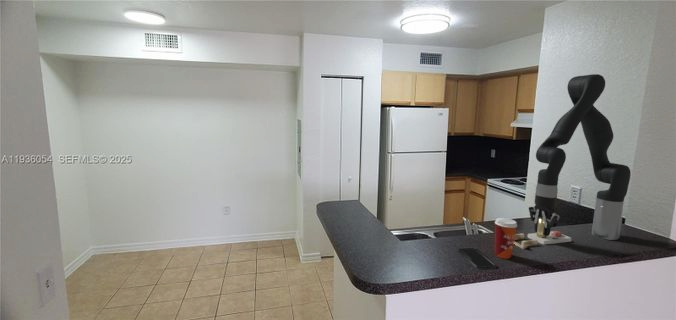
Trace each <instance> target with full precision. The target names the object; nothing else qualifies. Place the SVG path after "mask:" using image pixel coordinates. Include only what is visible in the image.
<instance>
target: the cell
mask: <svg viewBox="0 0 676 320" xmlns="http://www.w3.org/2000/svg"><path fill="white" fill-rule="evenodd" d="M547 220H548V219H547ZM544 227H545V225H544V222H543V218H538V226H537V232H536V233H537V235H536V236H537V237H539V238H547V236H544V235H543V233H544Z"/></svg>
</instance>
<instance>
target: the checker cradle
mask: <svg viewBox="0 0 676 320" xmlns="http://www.w3.org/2000/svg"><path fill="white" fill-rule="evenodd" d="M553 231H554V230H553ZM553 231H552V230H550V235H549V236H547V238H539V237H537V236H536V235H537V232H532V233H527V238H528V239H529V240H535V239H536V240H538V244H542V245H552V244H553V245H554V244H561V243H568V242H572V237H570V236H567V235H565V234H563V233H562V236H561V237H556V236H554V235H553Z"/></svg>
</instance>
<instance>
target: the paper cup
mask: <svg viewBox="0 0 676 320" xmlns="http://www.w3.org/2000/svg"><path fill="white" fill-rule="evenodd" d="M494 224H495V228H494V229H495V230H494V231H495V232H494V235H495V236H494V255H495V256H496V257H497V258H500V259H505V260H506V259H507V260H509V259H511V258H512V255H513V249H514V239H515V234H517V233H516V232H517V227H518V224H517V221H516V220H514V219H511V218H507V217H497V218H496V219H495V221H494Z"/></svg>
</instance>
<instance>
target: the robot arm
mask: <svg viewBox="0 0 676 320" xmlns="http://www.w3.org/2000/svg"><path fill="white" fill-rule="evenodd" d="M605 88H606V79H605V78H604V76H603V75H601V74H597V73H594V74H585V75H577V76H574V77H572V78H571V79H569V81H568V84H567V93H568V96H569V98H570V100H571V102H572V104H573V105H572V107H571V108H570V109H569V110H568V111H567V112H566V113H564V114H563V115H562V116H561V117H560V118H559V119H558V120H557V122H556V124H554V127H553V129H552V131H551V133H550V135H549V136H547V138H546V139H545V140H544V141H543V142H542V143H541V144H540V146H539V147H538V148H537V150H536V153H535V158H536V160H537V161H538V162H540V163H541V164H547V165H548V166H547V168H545V169H544V168H543V169H540V170H539V171H538V173H537V174H538V175H537V182H536V186H535V187H536V188H535V193H534V204H535V205H534V206H529V207H528V212H529V216H530V217H529V218H530V220H531V221H532V222H534V233H537V226H538V218H543V222H544V225H545V227H544V233H543V235H544V236H549V235H550V232H551V229H552V228H556V227H557V225H558V223H559V222H560V220H561V218H562V216H561V215H560V214H557V213H556V211H555V208H556V206H557V199H558V190H559V189H558V184H559V177H560V176H559V175H560V174H561V171H562V169H563V168H564V167H563V166H564V165H565V162H566V159H567V154H566V152H565V150H564V149H562V148H560V147H559V146H565V145H567V144H569V142H570V141H571V139H572V137H573V136H574V133H575V131H576V130H577V128H578V127H579V125H581V128H582V132H583V135H584V138H585V140H586V143H587V146H588V149H589V154H590V157H591V162H592V163H591V164H592V170H593V174H594V177H595V179H596V180H597V181H598V182H599V183H604V184H609V188H608V189H605V190H604V189H603V190H598V191H597V193H596V198H595V206H594V212H593V220H592V228H591V235H592V236H595V237H598V238H601V239H603V240H608V241H609V240H610V241H617V240H619V239H620V236H621V230H622V223H623V216H622V215H623V210H624V209H623V208H624V202H625V198H626V196H627V193H628V189H629V185H630V181H631V169H630V167H629V166H628V165H625V164H620V163H613V162H611V161H610V160H609V157H608V150H609V148H610V146H611V144H612V142H613V140H614V132H613V129H612V125H611V123H610V121H609V119H608V118H607V117H606V116H605V115H604V114H603V113H602V112H601V111H599V109H598V108H597V107H595V105H594V104H595V103H596V102H597V101H598V99H599V98H600V97H601V95H602V93H603V92H604V90H605ZM547 219H548V220H547Z"/></svg>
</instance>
